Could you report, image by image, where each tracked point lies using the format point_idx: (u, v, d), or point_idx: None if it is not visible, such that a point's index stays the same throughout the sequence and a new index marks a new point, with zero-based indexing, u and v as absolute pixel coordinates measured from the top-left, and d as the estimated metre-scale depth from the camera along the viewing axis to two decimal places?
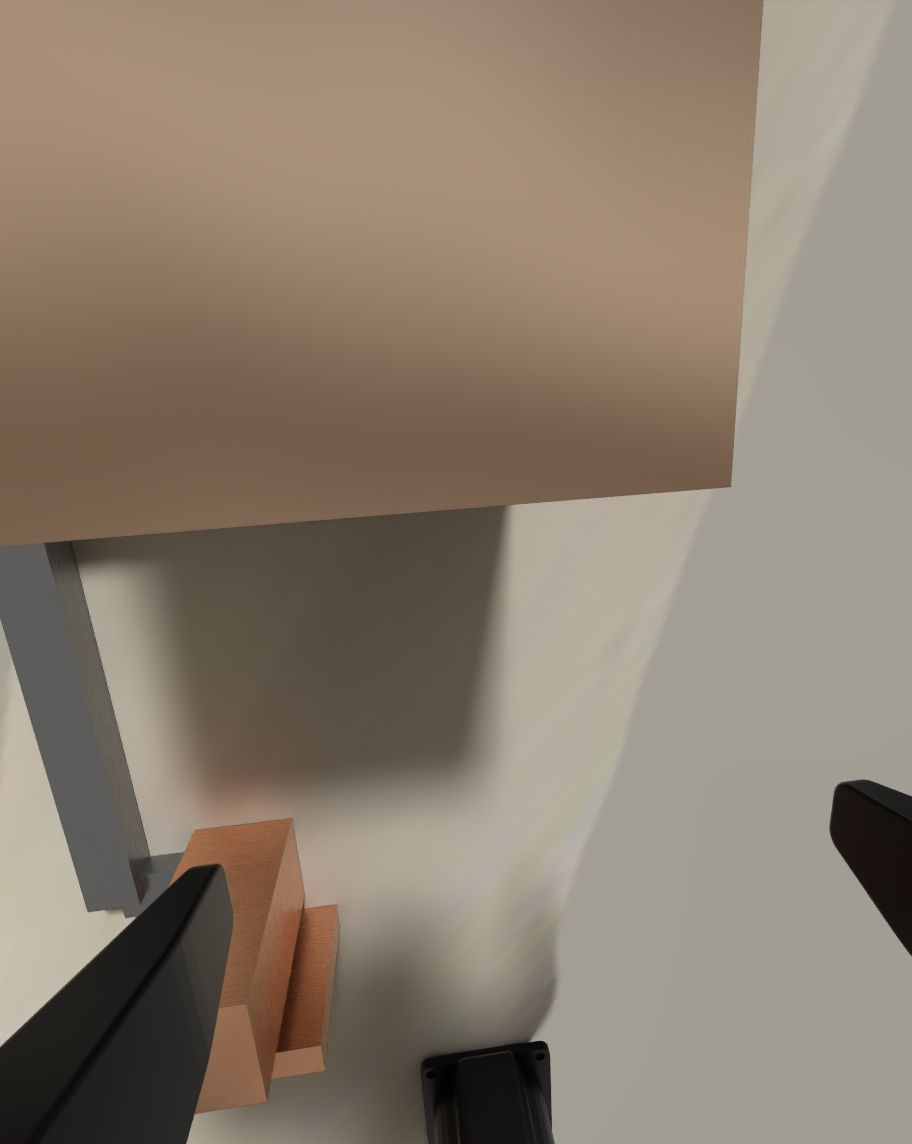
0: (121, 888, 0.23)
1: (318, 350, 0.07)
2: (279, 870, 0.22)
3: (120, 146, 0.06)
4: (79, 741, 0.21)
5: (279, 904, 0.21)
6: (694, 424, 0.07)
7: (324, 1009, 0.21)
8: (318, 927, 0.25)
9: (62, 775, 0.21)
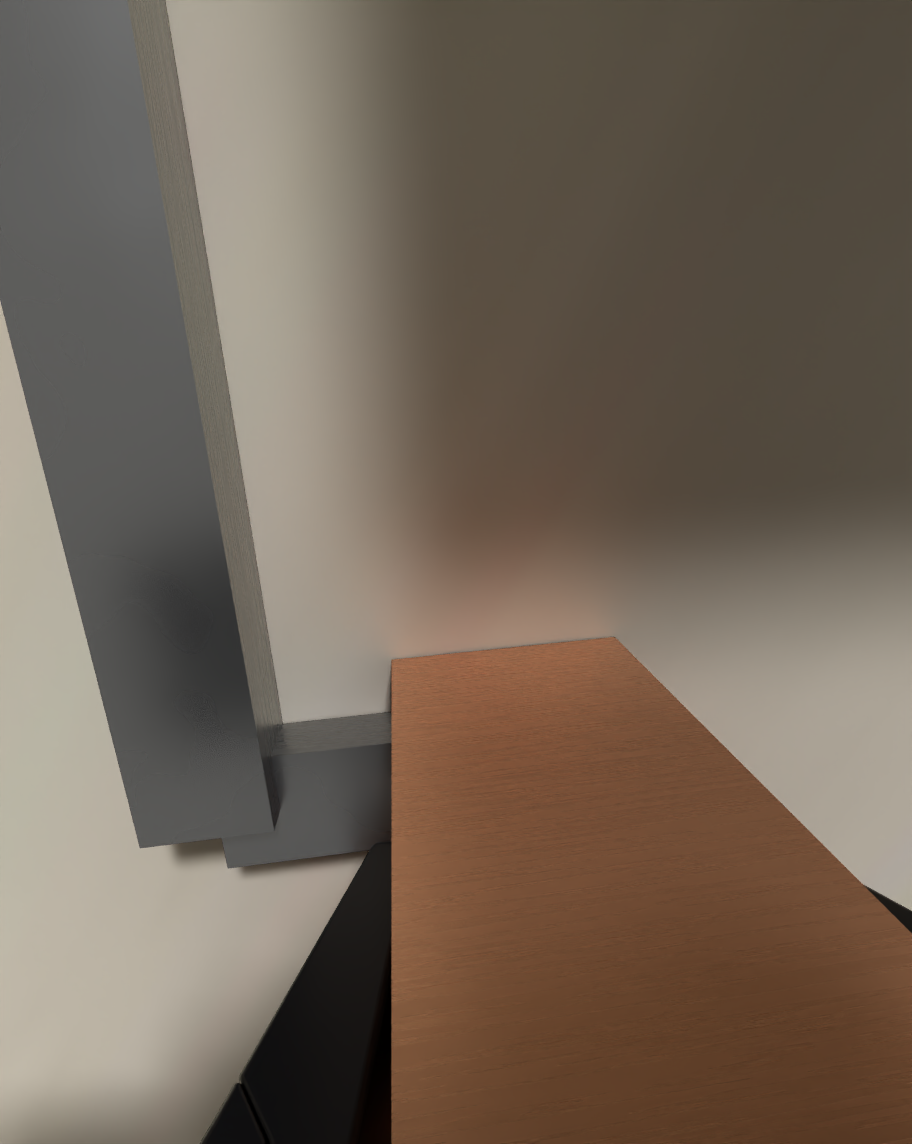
0: (228, 786, 0.09)
1: None
2: None
3: None
4: (130, 306, 0.07)
5: None
6: None
7: None
8: None
9: (77, 424, 0.07)
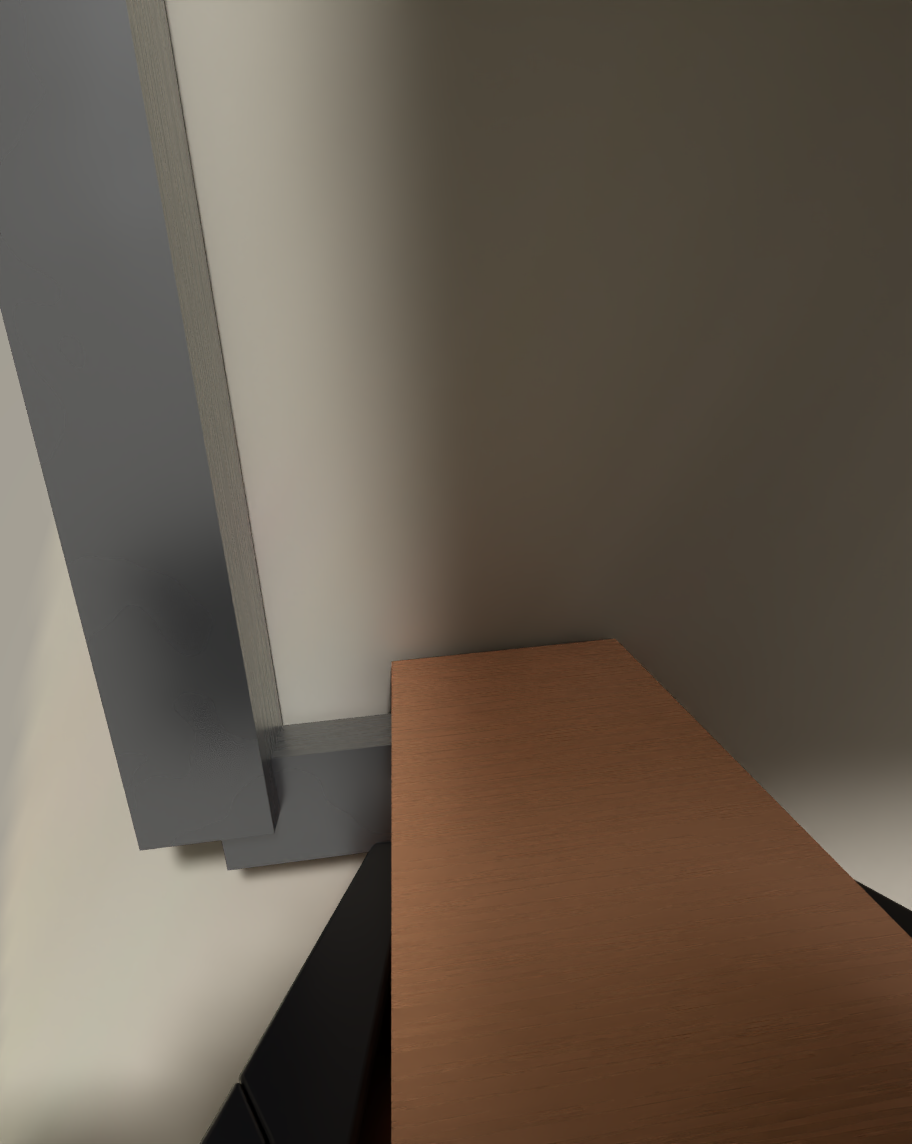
0: (229, 788, 0.09)
1: None
2: (696, 722, 0.08)
3: None
4: (129, 308, 0.07)
5: None
6: None
7: None
8: None
9: (76, 427, 0.07)
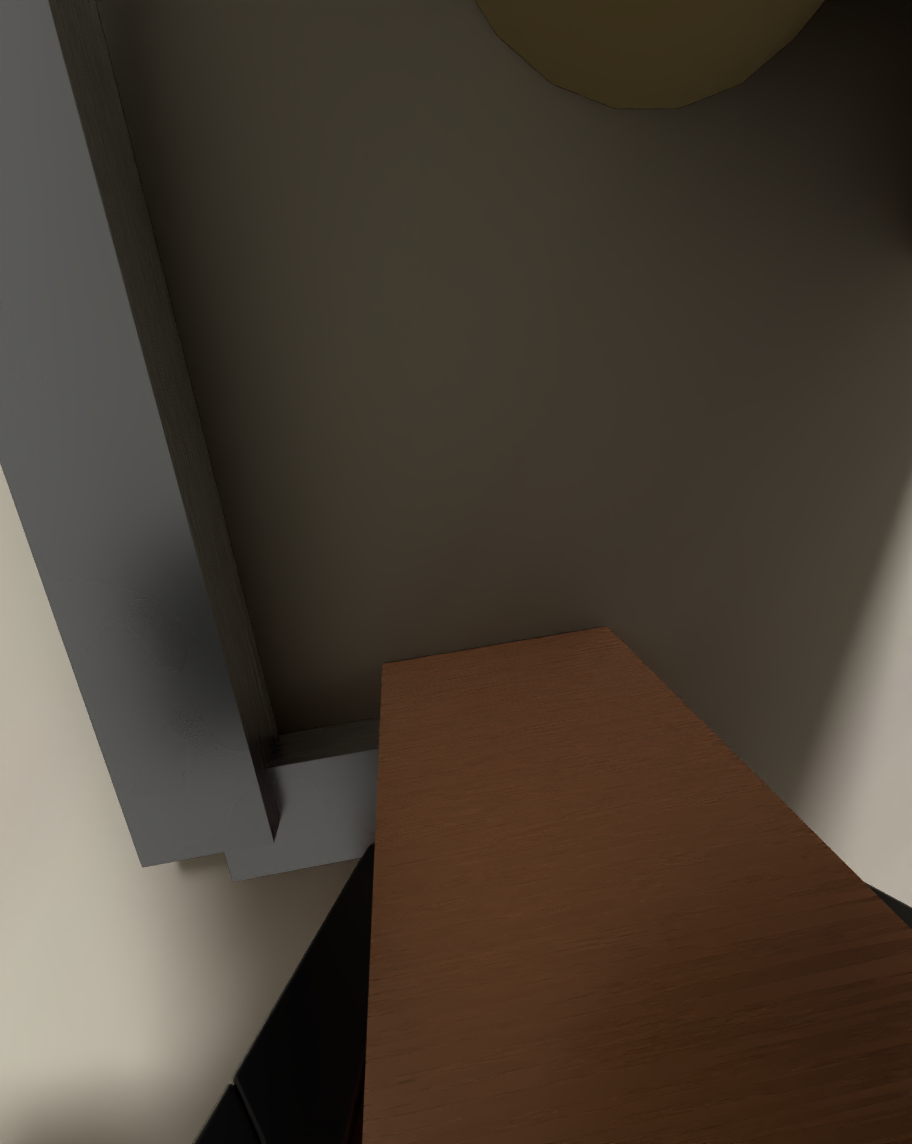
0: (224, 801, 0.09)
1: None
2: (686, 706, 0.07)
3: None
4: (84, 329, 0.07)
5: None
6: None
7: None
8: None
9: (42, 451, 0.07)
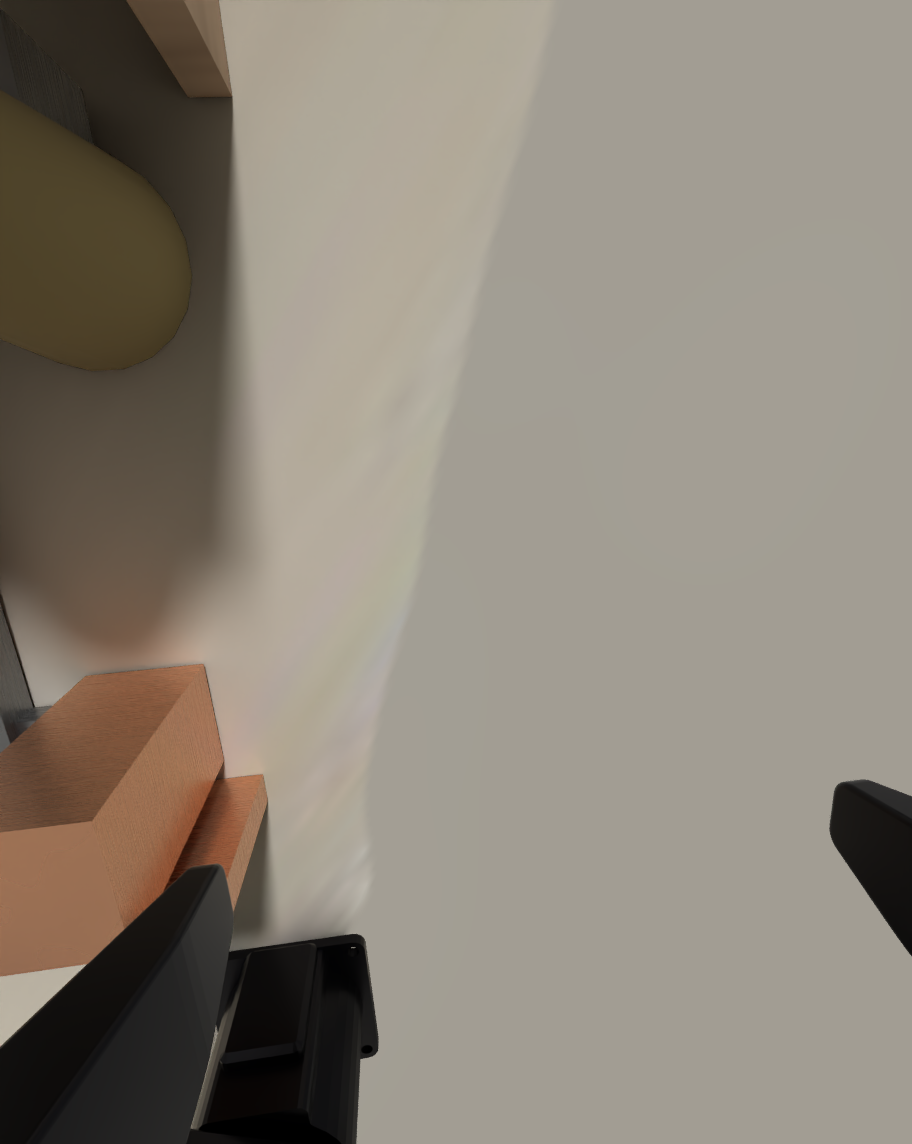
0: None
1: None
2: (174, 705, 0.18)
3: None
4: None
5: (172, 743, 0.17)
6: None
7: (229, 871, 0.17)
8: (237, 794, 0.21)
9: None
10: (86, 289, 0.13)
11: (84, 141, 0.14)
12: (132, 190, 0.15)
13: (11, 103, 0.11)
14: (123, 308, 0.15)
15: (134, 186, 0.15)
